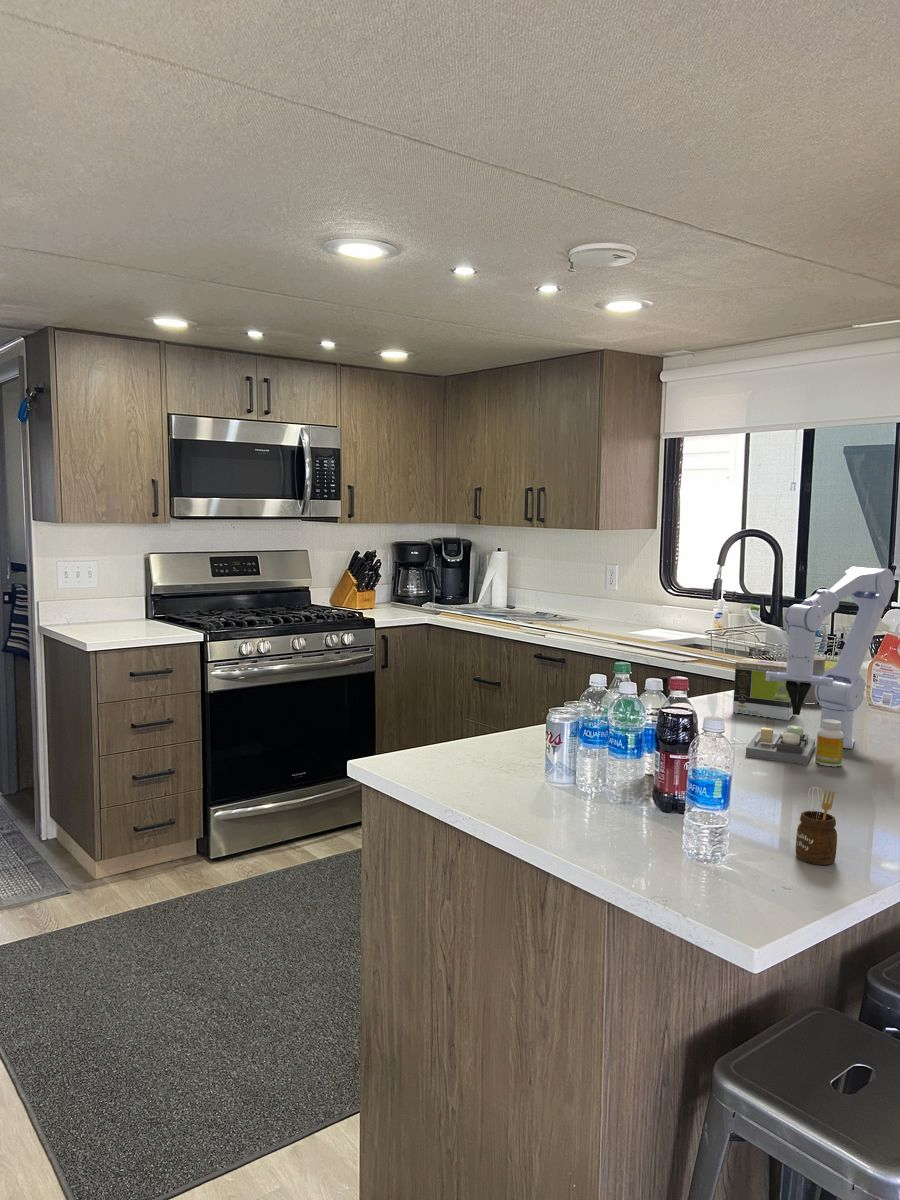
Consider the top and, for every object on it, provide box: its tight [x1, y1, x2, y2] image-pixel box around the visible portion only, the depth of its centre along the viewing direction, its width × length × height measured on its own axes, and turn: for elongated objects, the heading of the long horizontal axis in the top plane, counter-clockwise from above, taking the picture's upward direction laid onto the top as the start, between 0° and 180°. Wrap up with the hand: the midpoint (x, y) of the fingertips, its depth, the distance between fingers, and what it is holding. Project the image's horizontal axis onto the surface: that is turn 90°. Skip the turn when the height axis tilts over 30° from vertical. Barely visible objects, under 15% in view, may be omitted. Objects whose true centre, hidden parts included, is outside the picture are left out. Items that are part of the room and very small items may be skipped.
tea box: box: [732, 658, 798, 721], centre depth 248 cm, size 15×10×15 cm
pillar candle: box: [797, 654, 827, 703], centre depth 268 cm, size 10×10×15 cm
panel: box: [745, 731, 816, 766], centre depth 207 cm, size 18×13×4 cm
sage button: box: [786, 725, 805, 738], centre depth 209 cm, size 4×4×2 cm
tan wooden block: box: [760, 727, 774, 743], centre depth 206 cm, size 2×2×3 cm
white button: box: [782, 731, 800, 746], centre depth 202 cm, size 4×4×2 cm
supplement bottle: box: [814, 719, 844, 768], centre depth 198 cm, size 5×5×10 cm
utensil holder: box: [795, 786, 838, 866], centre depth 141 cm, size 6×6×12 cm
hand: (796, 714), depth 208 cm, fingers closed
